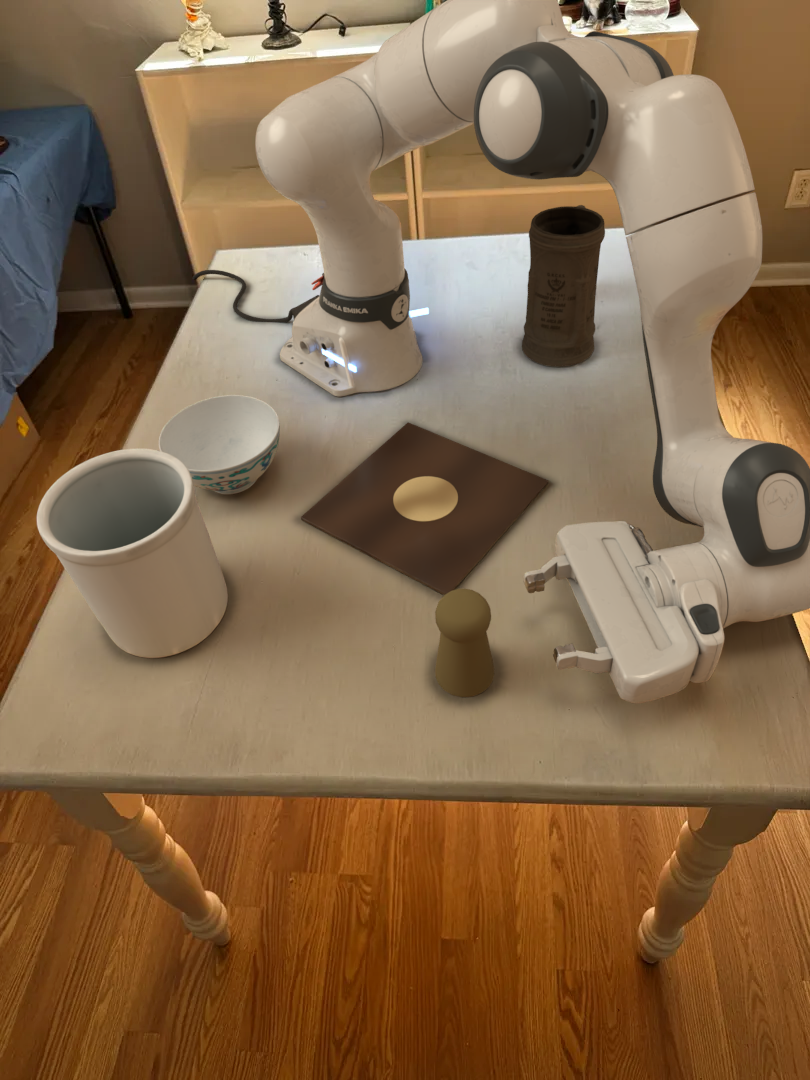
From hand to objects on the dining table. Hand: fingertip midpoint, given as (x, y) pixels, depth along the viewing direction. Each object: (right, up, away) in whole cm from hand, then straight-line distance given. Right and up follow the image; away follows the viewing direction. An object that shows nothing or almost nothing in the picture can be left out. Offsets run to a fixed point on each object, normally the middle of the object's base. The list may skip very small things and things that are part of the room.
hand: (539, 619), depth 76 cm
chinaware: (-36, +16, +27) cm, 47 cm away
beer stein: (+10, +38, +44) cm, 59 cm away
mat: (-10, +12, +21) cm, 27 cm away
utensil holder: (-40, 0, +12) cm, 42 cm away
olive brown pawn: (-7, -6, +4) cm, 10 cm away
